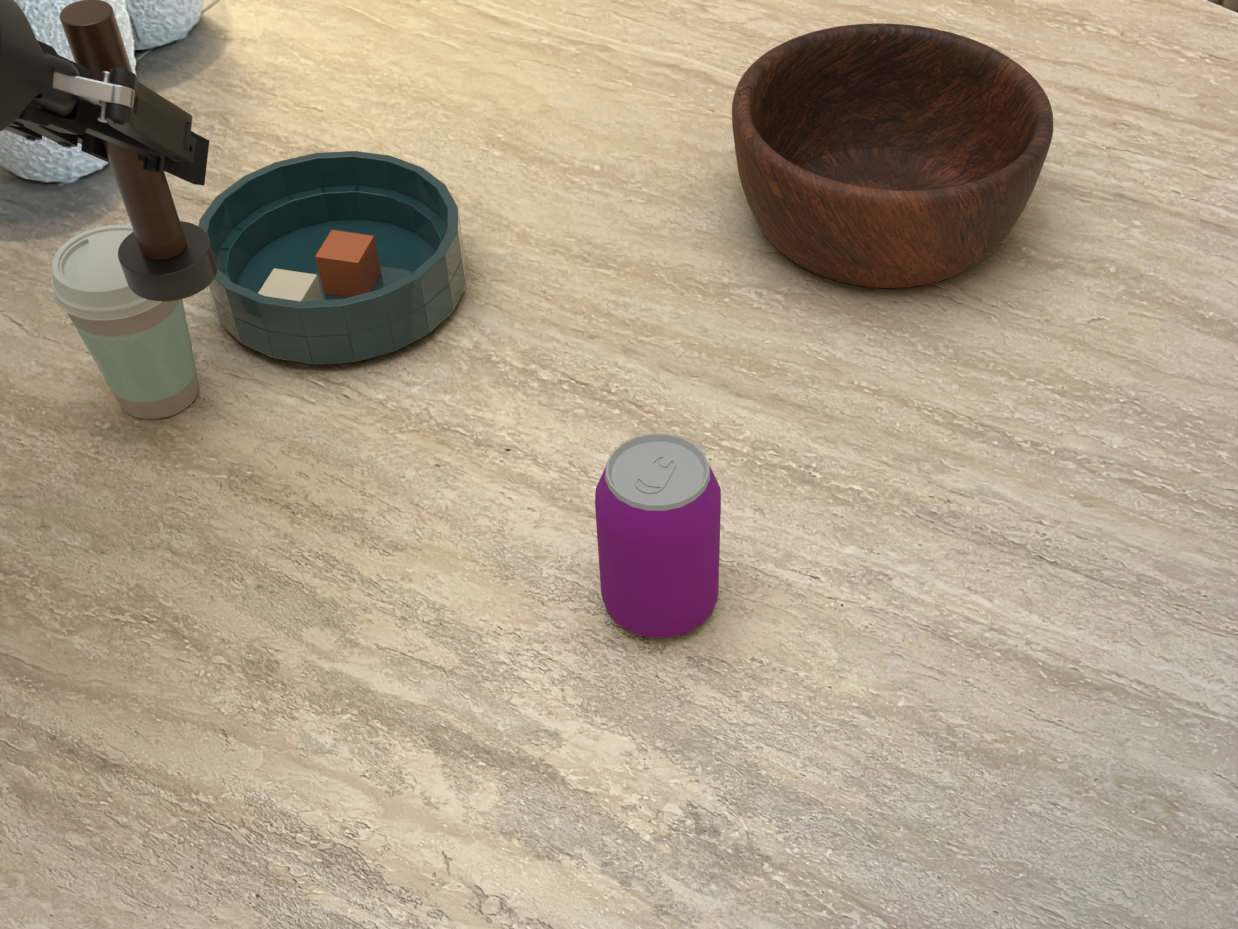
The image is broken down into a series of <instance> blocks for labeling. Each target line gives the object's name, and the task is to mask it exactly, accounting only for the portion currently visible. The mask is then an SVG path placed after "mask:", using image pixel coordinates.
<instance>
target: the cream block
mask: <svg viewBox="0 0 1238 929" xmlns="http://www.w3.org/2000/svg"><path fill="white" fill-rule="evenodd" d="M258 294H261V295H263V296H268V297H275V298H281V299H288V300H295V301H317V300H323V298H322V294H321V289H320V285H319V281H318V277H317V275H316V274H309V273H303V272H296V271H289V270H282V269H276V268H274V269H273V270H272V272H271V274H270V275H269V277H268V278H267V280H266V281H265V283H264V284H263V286H262V288H261V289H260V291H259V292H258Z"/></svg>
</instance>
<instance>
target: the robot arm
mask: <svg viewBox="0 0 1238 929" xmlns="http://www.w3.org/2000/svg"><path fill="white" fill-rule="evenodd" d="M192 125H193V115H192V114H190V113H188V112H187V111H185V110H184V109H182V108H181V107H179V106H177V104H175V103H173V102H172V101H170V100H168V99H167V98H165V97H163V96H162V95H160V94H159V93H158V92H155V91H154V90H153V89H151V88H149V86H146V85H145V84H143V83H141V82H140V81H139V79H138V75H137V74H136V73H134V72H133V73H132V72H129V70H128V69H126V68H121V67H119V68H111V71H110V72H108V71H102V76H101V81H97V80H93V79H92V78H91V74H90V72H89V70H88V69H87V68H86V67H84V66H82V65H79V64H77V63H75V61H73V60H70V59H68V58H66V57H64V56H62V55H60V54H58V52H57V50H56V49H55V48H54V47H53V46H51V45H49V44H47V43H45V42H43V41H41V40H38V39H37V36H36V34H35V32H34V30H33V27H32V26H31V23H30V21H29V19H28V18H27V16H26V14H25V12H24V11H23V9H22V8H21V6H20V5H19V4H18V3H17V2H16V1H15V0H0V133H1V132H2V131H4V130H5V131H8V132H9V133H12V134H15V135H17V136H20V137H22V138H25V140H26V141H31V142H36V141H43V137H44V138H46V139H48V140H50V141H53V142H54V143H56V144H57V145H59V146H61V147H63V148H67V149H71V148H77V147H78V145H79V144H80V145H81V150H80V151H81V152H82V153H85V154H88V155H90V156H93V157H95V158H97V159H100V160H101V161H104V162H106V163H109V164H110V162H109V159H108V156H107V153H106V150H105V147H104V144H103V142H102V139H103V140H106V141H108V142H111V143H113V144H116V145H118V146H121V147H124V148H126V149H129V150H131V151H134V152H136V153H138V160H141V161H143V169H144V170H147V171H151V172H156V173H162V172H163V171H164V173H168V174H170V175H172V176H175V177H176V178H178V179H181V180H184V181H185V182H188V183H190V184H192V185H197V186H205V184H206V176H207V166H208V157H209V150H210V149H209V148H210V139H207V138H205V137H204V136H202V135H199V134H198V133H196V132H194V131H192Z"/></svg>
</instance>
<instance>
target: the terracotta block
mask: <svg viewBox="0 0 1238 929" xmlns="http://www.w3.org/2000/svg"><path fill="white" fill-rule="evenodd" d="M315 258H316V263H317V267H318V271H319V275H320V279H321V284H322V288H323V292H324V294H328V295H335V296H342V297H352V296H356V295H360V294H364V293H368V292H371V290H372V289H373V287H374V285H375V283H376V282H377V280H378V278H379V276H380V274H381V269H380V264H379V259H378V254H377V249H376V244H375V239H374V236H372V235H365V234H358V233H351V232H344V231H337V230H331V232H330V233H329V235H328V236H327V238H326V240H325V241H324V243H323V244H322V246H321V248H320V249H319V251H318V253H317V254H316V256H315Z"/></svg>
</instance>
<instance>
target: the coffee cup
mask: <svg viewBox="0 0 1238 929" xmlns="http://www.w3.org/2000/svg"><path fill="white" fill-rule="evenodd" d="M132 232H133V228H132V225H131V224H108V225H103V226H98V227H94V228H91V229H88V230H86V231H83V232H81V233H79V234H77V235H75V236H72V237H71V238H70V239H68V240H67V241H66V242H64V244H62V245H61V246H60V247H59V248H58V250H56V252H55V254H54V255H53V258H52V261H51V276H50V277H51V278H50V287H51V290H52V296H53V299H54V301H55V303H56V305H57V306H58V307H59V309H61V310H62V311H63V312H66V314H67V315H68V317H69V319H70V321H71V322H72V324H73V326H74V327H75V329H76V331H77V333H78V334H79V336H80V338H81V340H82V342H83V343H84V345H85V346H86V348H87V351H88V352H89V354H90V355H91V357H92V359H93V361H94V363H95V365H96V366H97V368H98V370H99V371H100V373H101V375H102V376H103V378H104V380H105V382H106V384H107V386H108V387H109V389H110V390H111V392H112V394H113V396H114V397H115V399H116V401H117V403H118V404H119V406H120V407H121V409H122V410H123V411H124V412H125V413H127V415H130V416H132V417H135V418H138V419H141V420H142V419H143V420H157V419H165V418H168V417H172V416H175V415H177V414H178V413H181V412H182V411H184V410H185V409H187V408H188V407H190V405H192V404H193V402H194V401H195V399H196V398H197V396H198V394H199V391H200V383H199V379H198V373H197V368H196V362H195V358H194V353H193V345H192V341H191V336H190V330H189V326H188V321H187V316H186V311H185V306H184V299H180V300H175V301H152V300H148V299H145V298H142V297H140V296H138V295H136V294H135V293H134V292H133V291H132V290H131V289H130V288H129V286H128V284H127V281H126V278H125V276H124V273H123V270H122V267H121V265H120V262H119V259H118V249H119V246H120V244H121V243H122V241H123V240H124V239H125V238H126V237H127V236H128V235H129V234H131V233H132Z"/></svg>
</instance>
